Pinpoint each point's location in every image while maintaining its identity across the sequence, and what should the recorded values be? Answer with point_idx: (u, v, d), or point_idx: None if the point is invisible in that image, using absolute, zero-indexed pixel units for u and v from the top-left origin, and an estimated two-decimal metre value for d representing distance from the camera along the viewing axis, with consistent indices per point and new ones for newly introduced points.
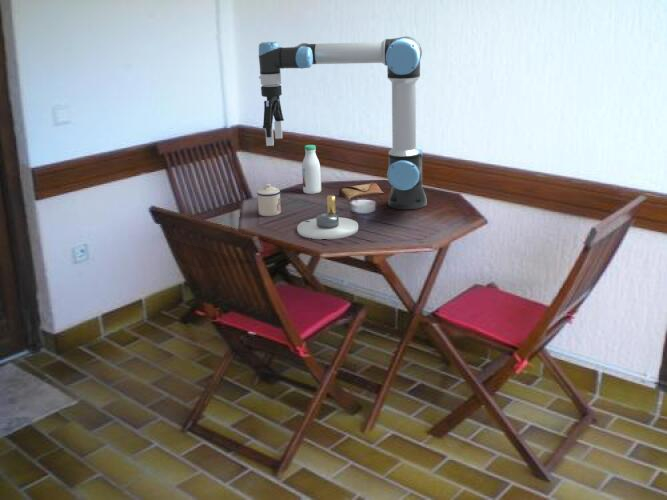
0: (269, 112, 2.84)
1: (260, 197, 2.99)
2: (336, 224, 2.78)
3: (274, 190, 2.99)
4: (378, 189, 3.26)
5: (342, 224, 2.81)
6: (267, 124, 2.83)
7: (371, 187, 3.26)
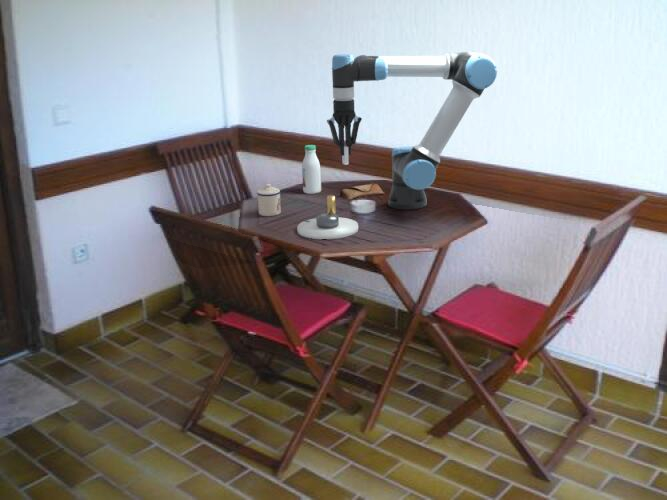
0: (332, 131, 2.79)
1: (260, 197, 2.99)
2: (336, 224, 2.78)
3: (274, 190, 2.99)
4: (379, 190, 3.25)
5: (342, 224, 2.81)
6: None
7: (372, 188, 3.25)
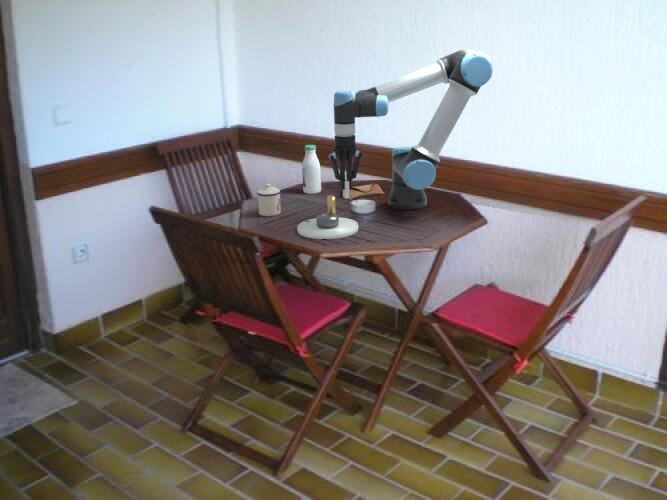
0: (334, 166, 2.83)
1: (260, 197, 2.99)
2: (336, 224, 2.78)
3: (274, 190, 2.99)
4: (379, 190, 3.25)
5: (342, 224, 2.81)
6: None
7: (373, 188, 3.25)
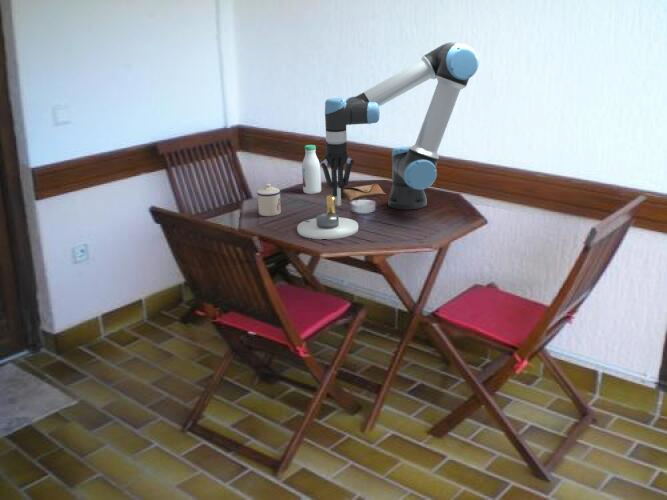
0: (325, 174, 2.83)
1: (260, 197, 2.99)
2: (336, 224, 2.78)
3: (274, 190, 2.99)
4: (380, 190, 3.24)
5: (342, 224, 2.81)
6: None
7: (373, 188, 3.25)
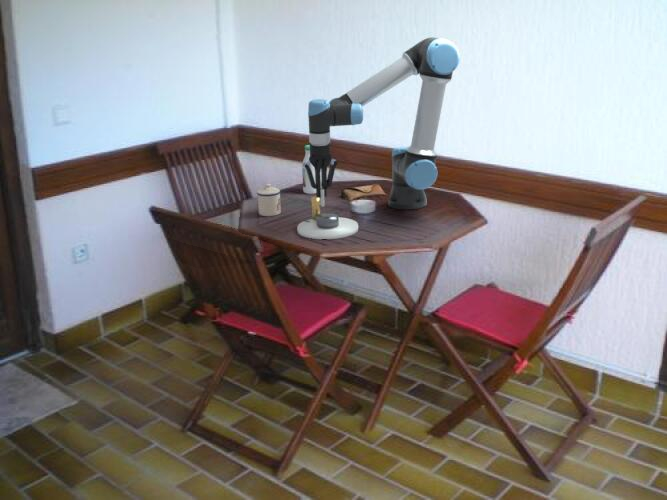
0: (309, 175, 2.82)
1: (260, 197, 2.99)
2: (338, 222, 2.81)
3: (274, 190, 2.99)
4: (380, 190, 3.24)
5: (342, 224, 2.81)
6: None
7: (374, 188, 3.24)
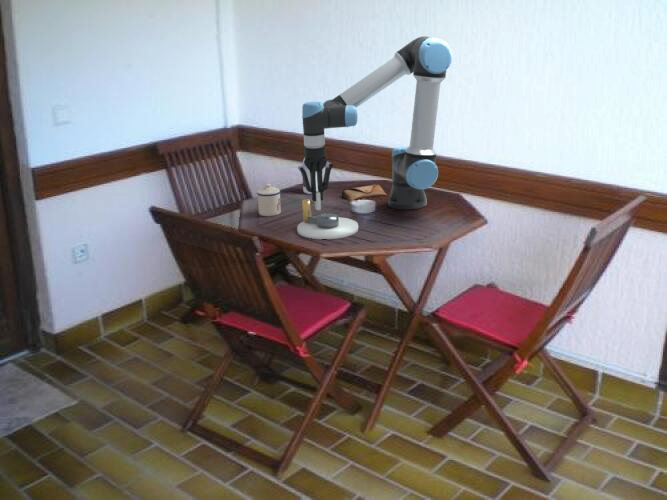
0: (304, 178, 2.80)
1: (260, 197, 2.99)
2: None
3: (274, 190, 2.99)
4: (381, 191, 3.23)
5: (342, 224, 2.81)
6: None
7: (374, 189, 3.23)
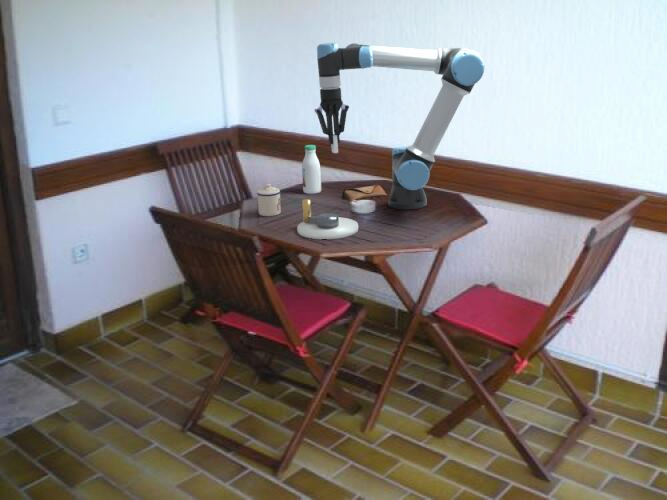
0: (321, 120, 2.81)
1: (260, 197, 2.99)
2: None
3: (274, 190, 2.99)
4: (382, 191, 3.23)
5: (342, 224, 2.81)
6: None
7: (375, 189, 3.23)
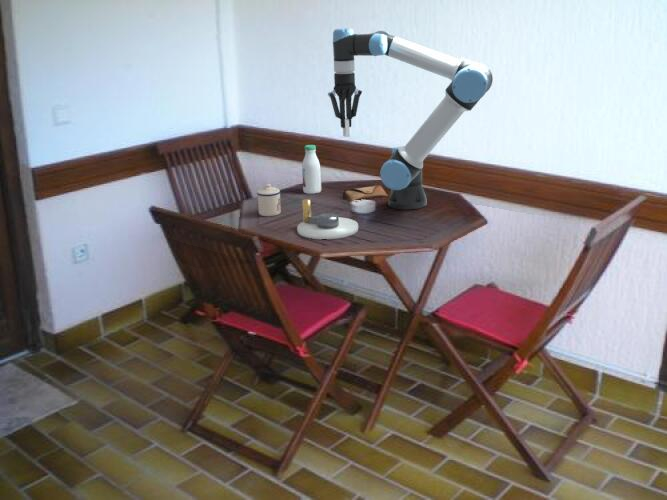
0: (334, 104, 2.87)
1: (260, 197, 2.99)
2: None
3: (274, 190, 2.99)
4: (382, 192, 3.22)
5: (342, 224, 2.81)
6: None
7: (375, 190, 3.22)
